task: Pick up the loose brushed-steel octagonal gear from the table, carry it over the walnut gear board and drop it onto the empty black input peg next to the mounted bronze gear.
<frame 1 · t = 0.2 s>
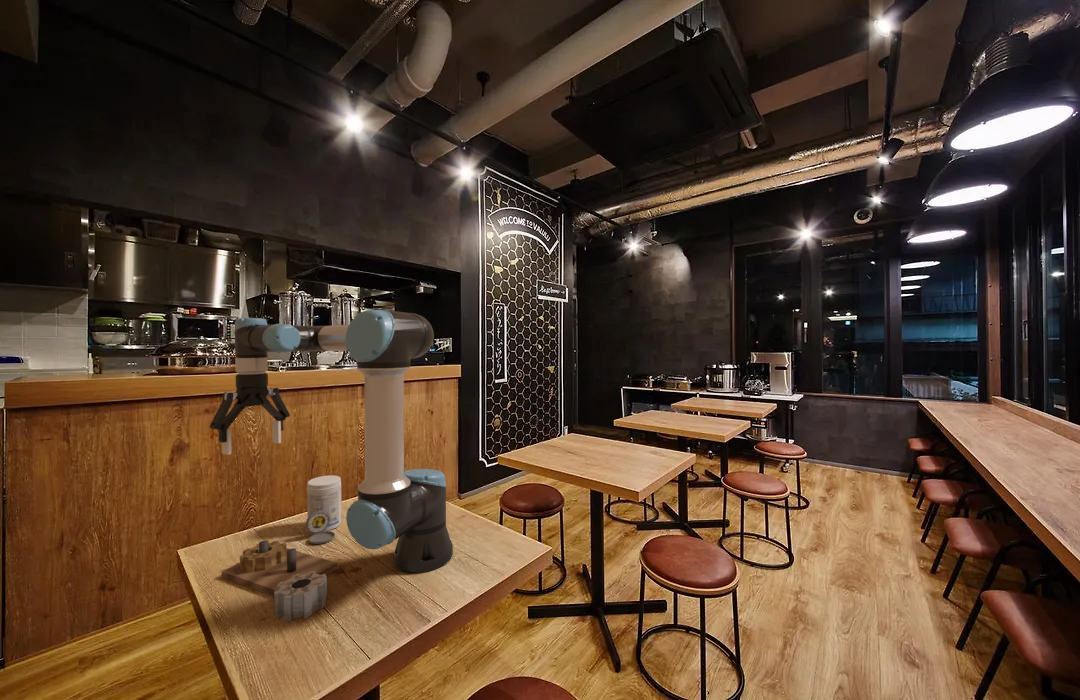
hand: (253, 448, 117), 28 cm above the table, fingers open, 13 cm apart
gear board: (280, 573, 103), on the table
pocket watch: (321, 539, 121), on the table
steel gear: (301, 606, 90), on the table
supplement tub: (324, 527, 129), on the table
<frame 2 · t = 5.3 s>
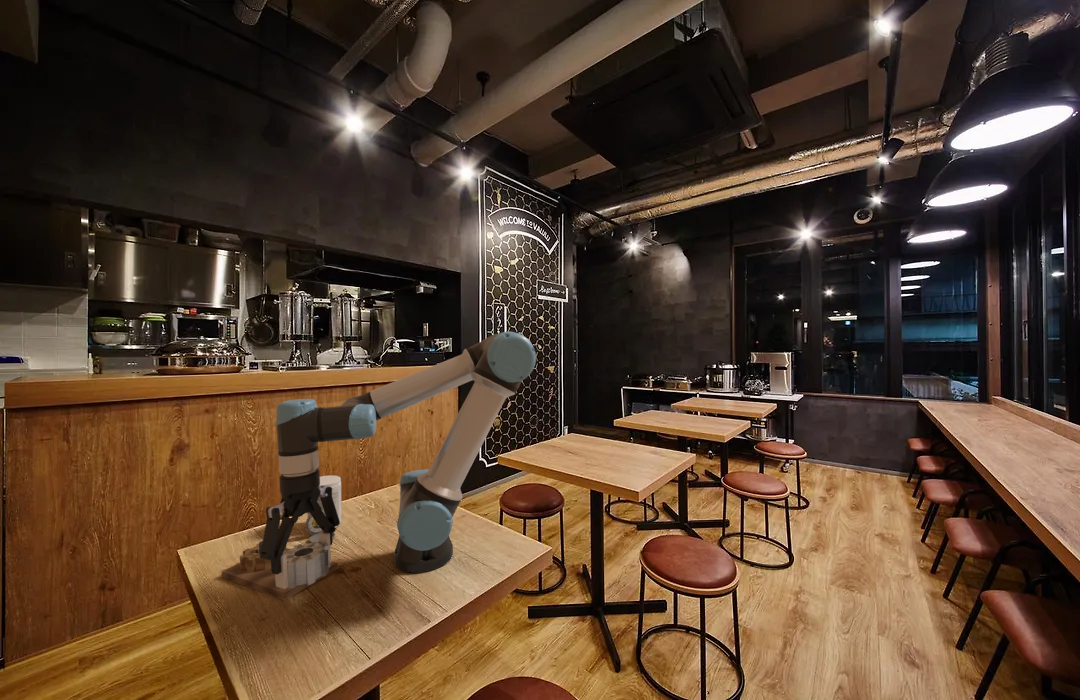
hand: (304, 573, 90), 7 cm above the table, fingers closed on steel gear, 10 cm apart
steel gear: (304, 574, 90), point 7 cm above the table, touching gripper
everything else where it was.
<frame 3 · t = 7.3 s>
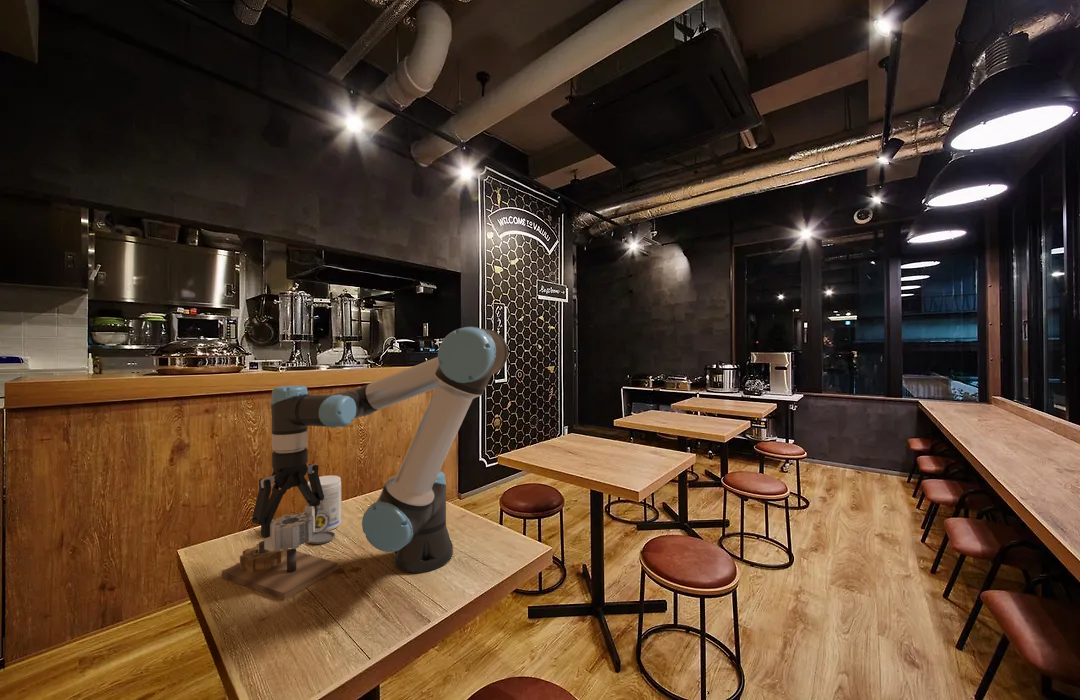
hand: (290, 540, 101), 9 cm above the table, fingers closed on steel gear, 10 cm apart
steel gear: (290, 541, 101), point 9 cm above the table, touching gripper
everything else where it was.
when the fingers open (3 cm above the table, at t = 9.3 s): steel gear stays where it is, resting on gear board.
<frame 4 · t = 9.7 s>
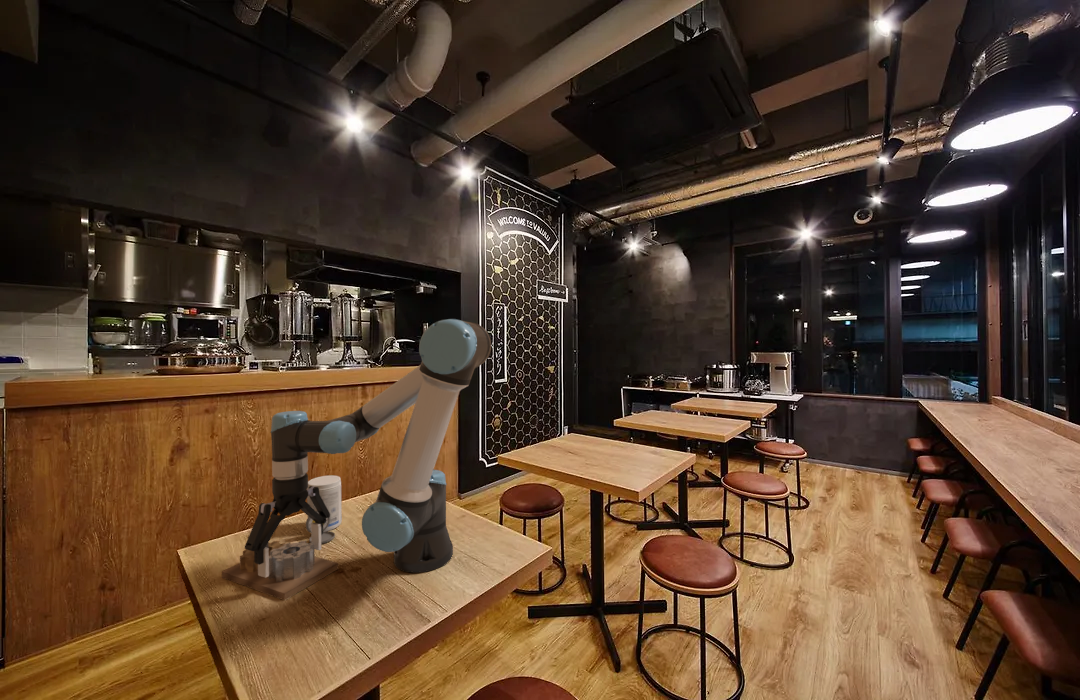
hand: (291, 561, 101), 4 cm above the table, fingers open, 13 cm apart
steel gear: (291, 570, 101), point 1 cm above the table, touching gear board
everything else where it was.
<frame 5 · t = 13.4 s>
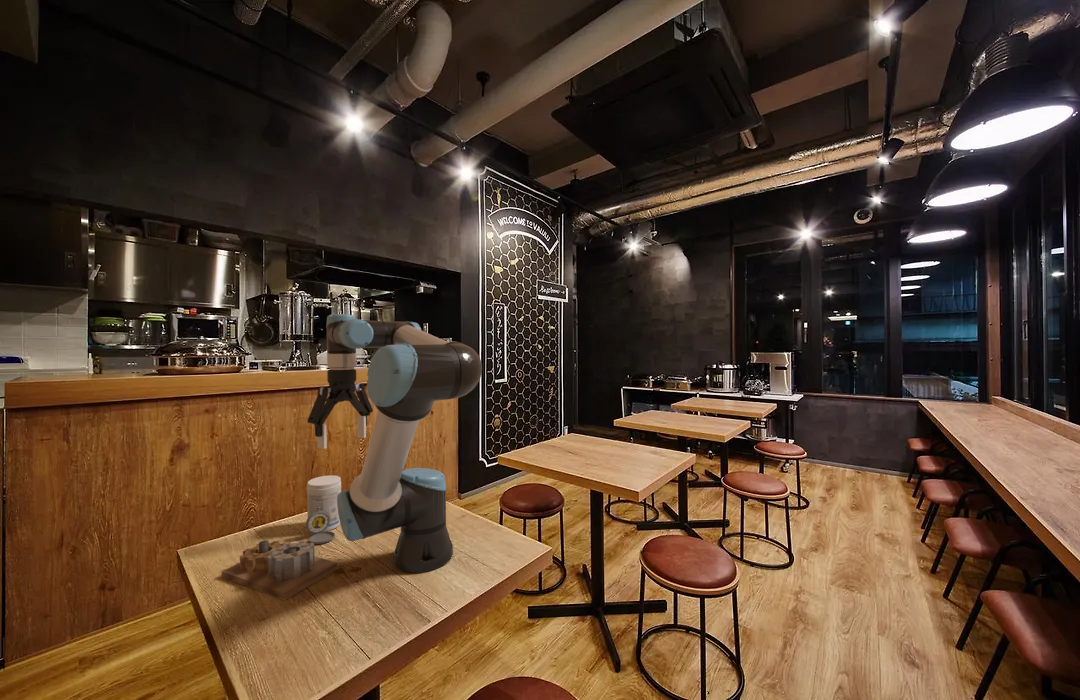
hand: (342, 442, 119), 29 cm above the table, fingers open, 13 cm apart
nothing on the table moved.
at the end: steel gear 0.0 cm from the target spot on the gear board, point 1.5 cm above the gear board's base; steel gear tilted 0°; the gripper is holding nothing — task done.
